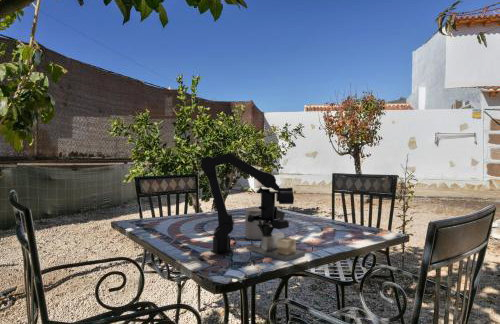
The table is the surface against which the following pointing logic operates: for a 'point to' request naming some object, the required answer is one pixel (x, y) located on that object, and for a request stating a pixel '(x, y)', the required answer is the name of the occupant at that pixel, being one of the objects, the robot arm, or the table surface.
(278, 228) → the robot arm
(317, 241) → the table surface
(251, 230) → the pillar candle
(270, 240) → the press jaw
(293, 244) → the block
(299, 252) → the press bed
